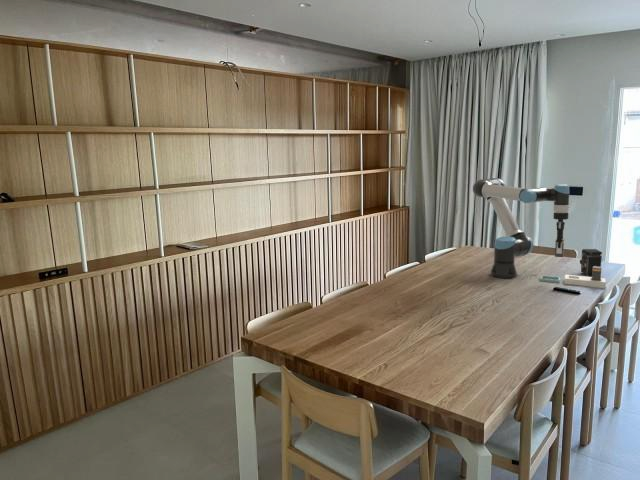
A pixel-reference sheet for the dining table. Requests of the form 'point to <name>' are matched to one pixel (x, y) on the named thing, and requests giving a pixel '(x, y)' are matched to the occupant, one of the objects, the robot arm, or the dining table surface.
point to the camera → (590, 260)
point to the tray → (550, 279)
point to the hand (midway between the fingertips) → (559, 252)
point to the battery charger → (587, 279)
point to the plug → (562, 249)
